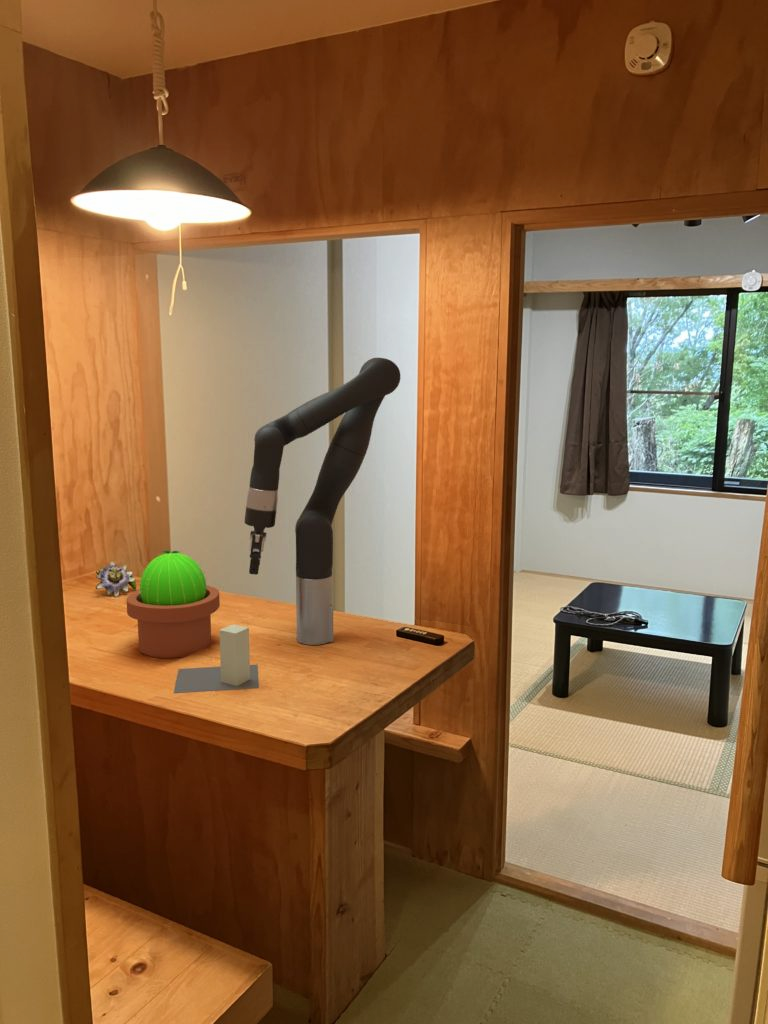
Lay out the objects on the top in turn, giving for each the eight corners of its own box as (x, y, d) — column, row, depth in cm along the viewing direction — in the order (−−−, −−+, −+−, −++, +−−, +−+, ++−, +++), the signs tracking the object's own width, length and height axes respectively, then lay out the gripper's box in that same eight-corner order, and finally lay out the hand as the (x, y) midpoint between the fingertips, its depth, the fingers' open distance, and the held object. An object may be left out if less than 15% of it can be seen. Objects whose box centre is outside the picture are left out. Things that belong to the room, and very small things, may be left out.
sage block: (250, 679, 178) (248, 627, 175) (236, 686, 174) (235, 633, 172) (234, 675, 180) (233, 624, 178) (221, 681, 176) (219, 629, 174)
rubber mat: (257, 668, 187) (257, 664, 186) (259, 692, 173) (258, 687, 173) (178, 673, 183) (178, 668, 183) (173, 697, 170) (173, 693, 170)
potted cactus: (197, 666, 188) (194, 563, 183) (112, 658, 192) (107, 557, 188) (233, 635, 209) (230, 542, 204) (156, 629, 213) (152, 538, 209)
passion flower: (117, 613, 244) (94, 587, 237) (105, 598, 252) (83, 573, 245) (147, 589, 248) (125, 563, 241) (135, 576, 256) (113, 550, 249)
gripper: (276, 513, 190) (268, 578, 193) (277, 503, 204) (270, 565, 207) (244, 509, 189) (237, 575, 192) (247, 500, 203) (241, 562, 206)
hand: (254, 569), depth 199 cm, fingers open, 8 cm apart
